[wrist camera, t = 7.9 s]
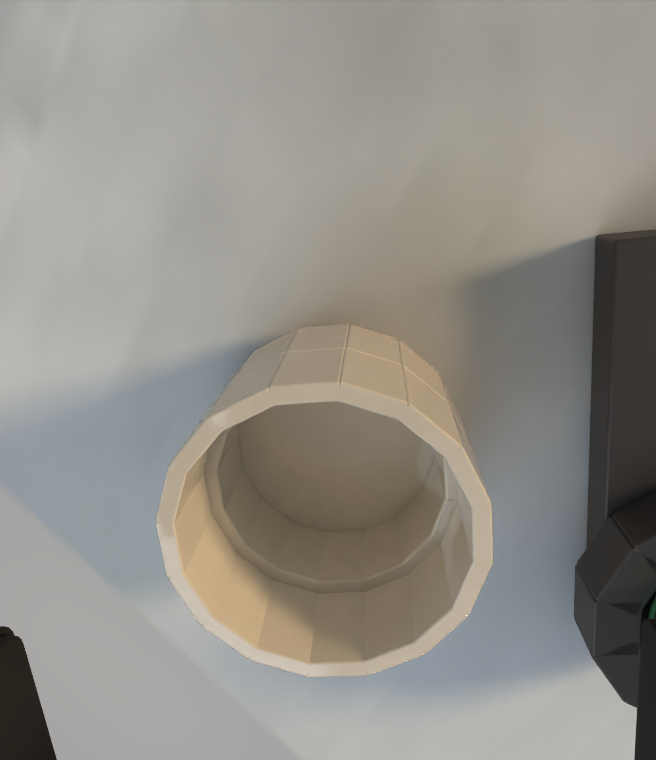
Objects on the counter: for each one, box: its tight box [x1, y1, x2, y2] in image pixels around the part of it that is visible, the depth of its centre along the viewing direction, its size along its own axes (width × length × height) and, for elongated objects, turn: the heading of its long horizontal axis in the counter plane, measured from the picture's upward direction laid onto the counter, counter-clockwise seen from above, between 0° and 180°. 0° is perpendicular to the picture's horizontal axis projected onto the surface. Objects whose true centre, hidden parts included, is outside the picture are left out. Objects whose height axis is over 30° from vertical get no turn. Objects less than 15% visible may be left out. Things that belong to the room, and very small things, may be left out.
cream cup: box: [156, 324, 493, 677], centre depth 15 cm, size 7×7×6 cm
